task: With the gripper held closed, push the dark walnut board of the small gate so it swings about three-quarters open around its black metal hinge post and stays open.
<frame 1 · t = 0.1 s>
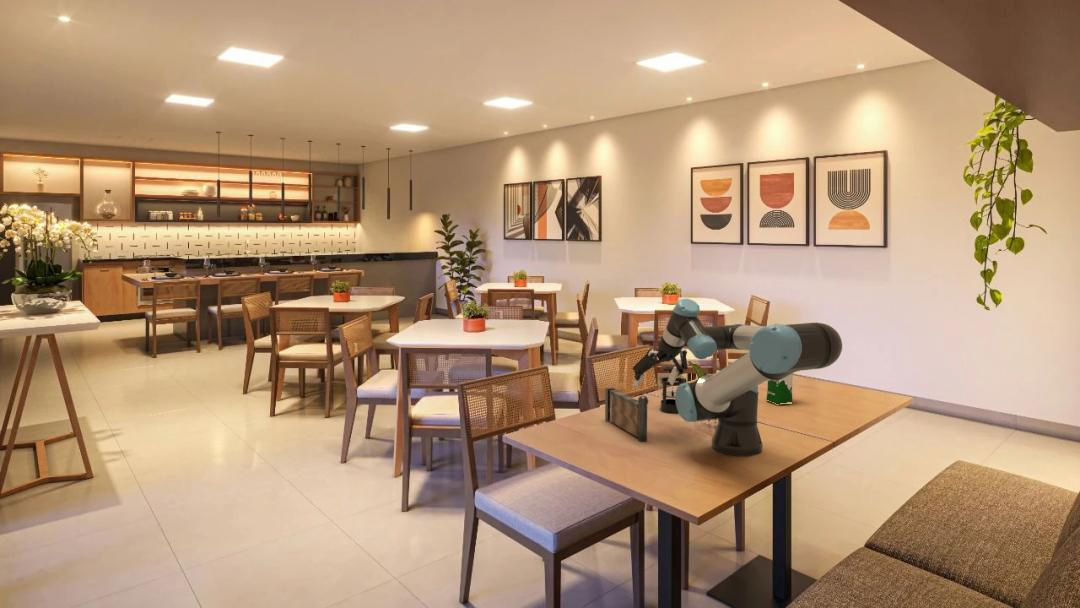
hand: (653, 384, 217), 15 cm above the table, tool tilted 35°, fingers open, 13 cm apart
gate post: (642, 440, 204), on the table
gate: (625, 412, 214), point 6 cm above the table, hinge at 0.0°
latch post: (610, 420, 226), on the table
milk carton: (779, 403, 249), on the table
french press: (673, 410, 239), on the table
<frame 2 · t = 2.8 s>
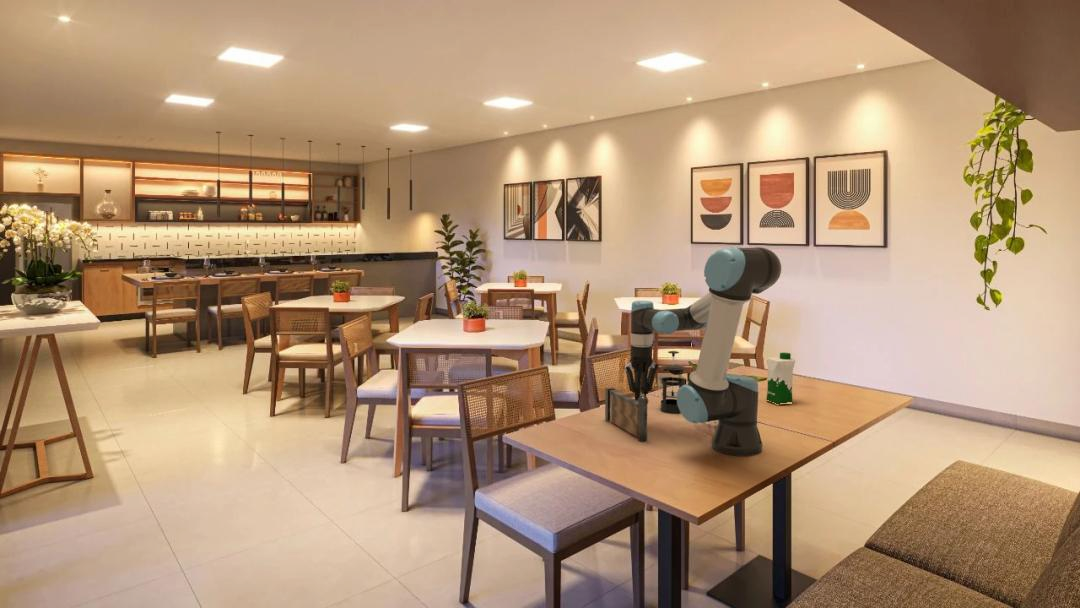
hand: (640, 411, 219), 5 cm above the table, tool pointing down, fingers closed
nothing on the table moved.
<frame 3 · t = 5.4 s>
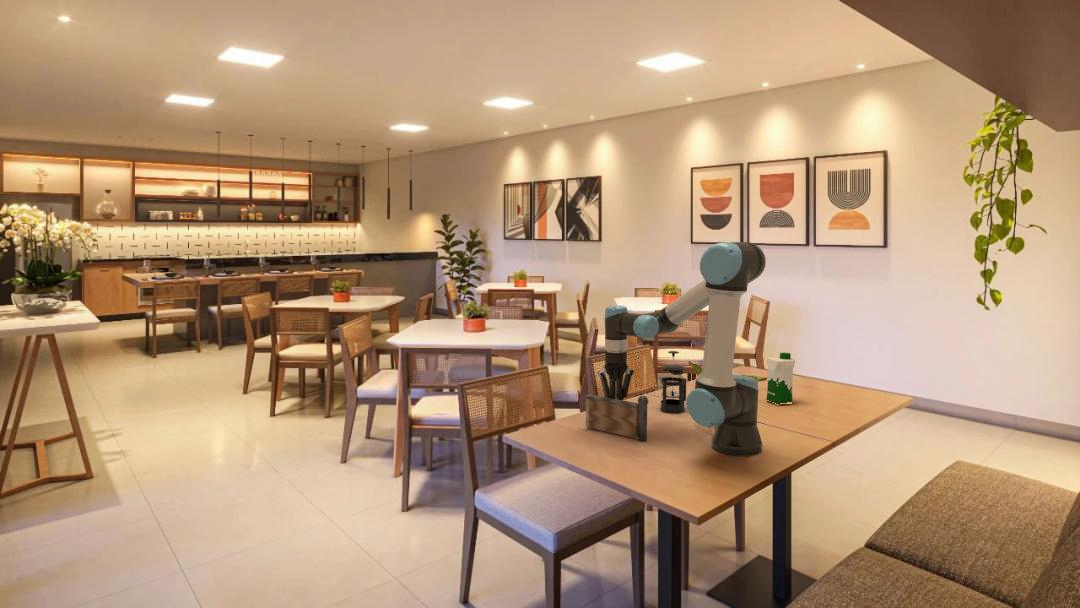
hand: (615, 417, 215), 4 cm above the table, tool pointing down, fingers closed
gate: (611, 415, 210), point 6 cm above the table, hinge at 31.0°, touching hand
everything else where it was.
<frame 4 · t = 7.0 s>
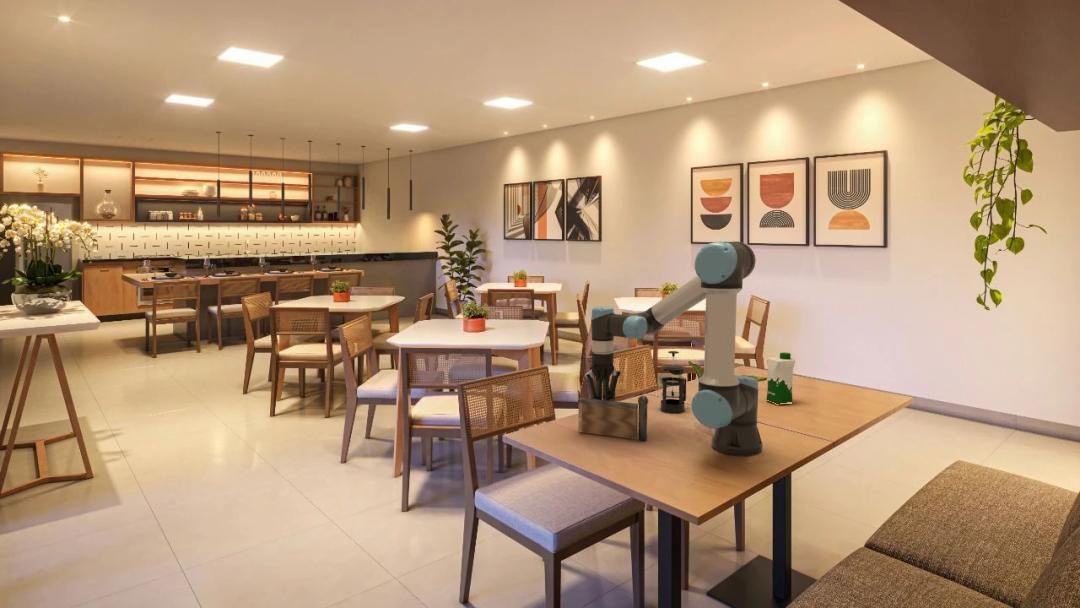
hand: (602, 419, 214), 4 cm above the table, tool pointing down, fingers closed
gate: (607, 417, 208), point 6 cm above the table, hinge at 46.2°, touching hand
everything else where it was.
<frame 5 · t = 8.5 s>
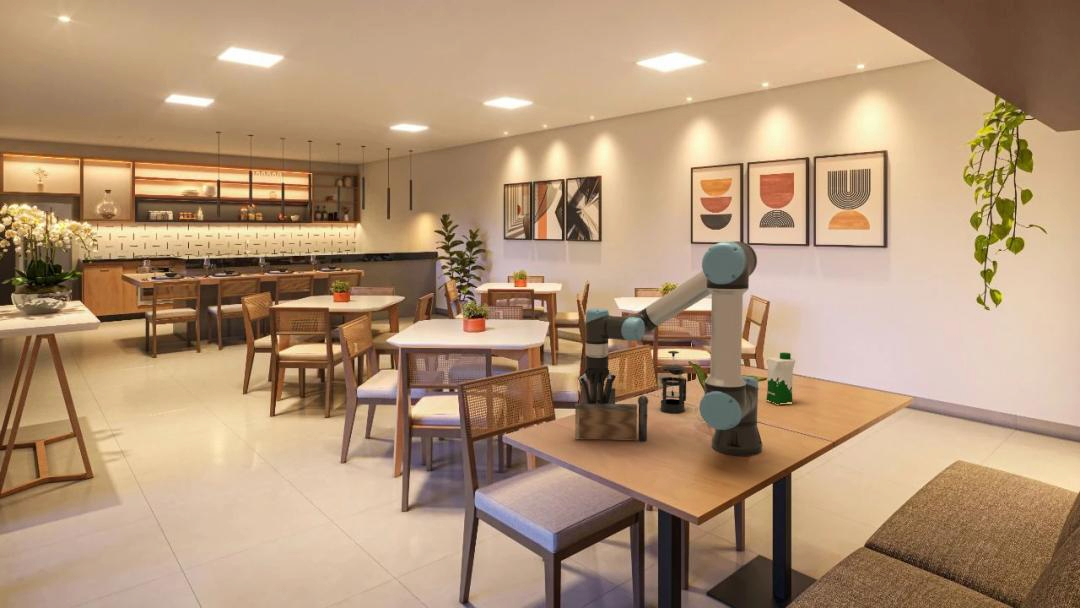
hand: (597, 424, 208), 4 cm above the table, tool pointing down, fingers closed
gate: (605, 421, 204), point 6 cm above the table, hinge at 66.4°, touching hand
everything else where it was.
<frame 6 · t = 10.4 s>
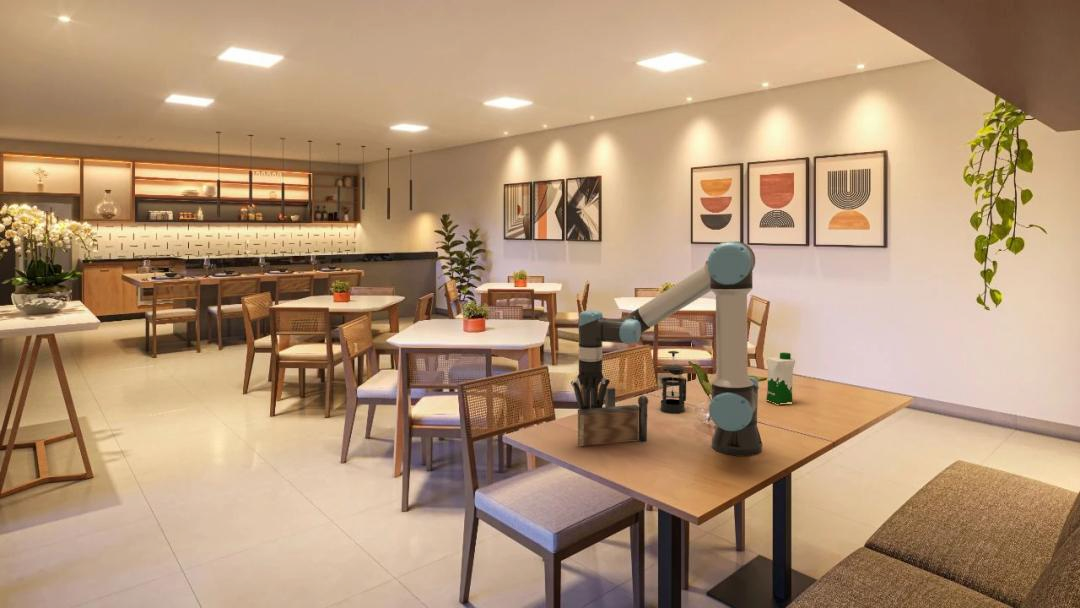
hand: (590, 430, 201), 4 cm above the table, tool pointing down, fingers closed
gate: (608, 425, 200), point 6 cm above the table, hinge at 85.5°, touching hand
everything else where it was.
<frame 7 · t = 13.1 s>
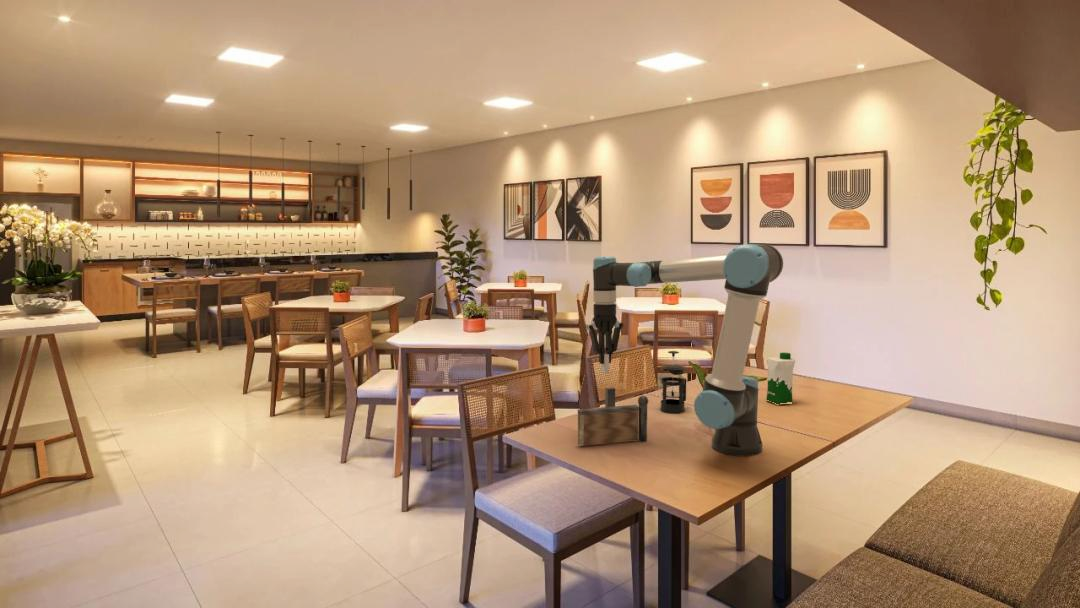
hand: (605, 373, 209), 21 cm above the table, tool pointing down, fingers closed
gate: (608, 425, 200), point 6 cm above the table, hinge at 85.5°
everything else where it was.
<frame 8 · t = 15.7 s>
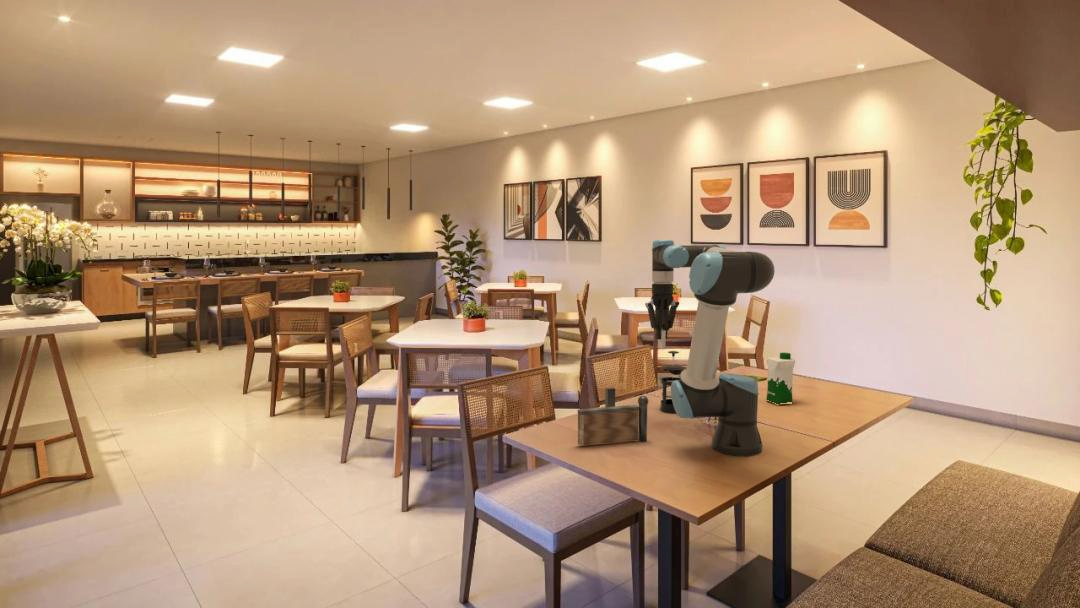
hand: (661, 348, 225), 26 cm above the table, tool pointing down, fingers closed
nothing on the table moved.
at the end: gate at +86° (first picture: +0°); french press moved 0.2 cm from its start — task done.
